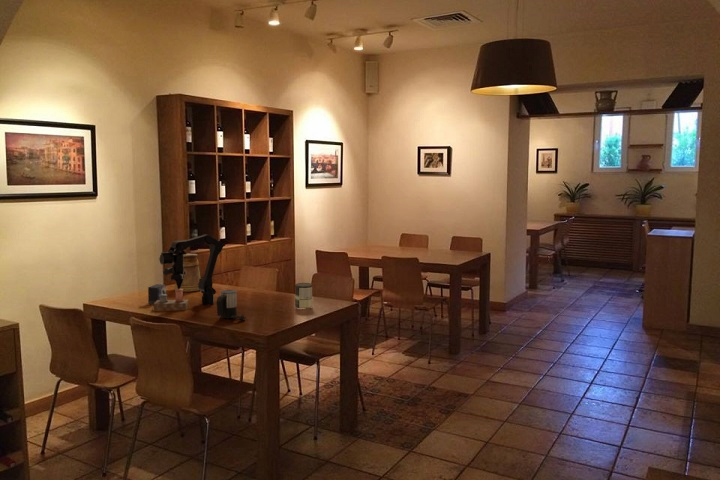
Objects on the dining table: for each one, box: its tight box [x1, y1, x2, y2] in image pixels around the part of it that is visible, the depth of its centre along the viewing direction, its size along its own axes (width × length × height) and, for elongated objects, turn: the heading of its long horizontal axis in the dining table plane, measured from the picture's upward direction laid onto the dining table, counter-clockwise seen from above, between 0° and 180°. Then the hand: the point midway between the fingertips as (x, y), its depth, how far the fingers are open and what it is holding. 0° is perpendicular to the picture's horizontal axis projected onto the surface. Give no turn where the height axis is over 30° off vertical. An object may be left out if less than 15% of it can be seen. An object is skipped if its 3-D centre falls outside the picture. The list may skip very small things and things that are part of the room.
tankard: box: [174, 253, 201, 293], centre depth 398 cm, size 18×24×25 cm
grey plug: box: [159, 293, 168, 303], centre depth 342 cm, size 5×5×8 cm
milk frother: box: [216, 289, 246, 321], centre depth 321 cm, size 14×16×15 cm
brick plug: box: [174, 288, 184, 303], centre depth 343 cm, size 5×5×8 cm
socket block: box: [153, 299, 190, 312], centre depth 343 cm, size 18×10×4 cm, turn 99°
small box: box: [147, 283, 167, 305], centre depth 358 cm, size 11×6×10 cm, turn 168°
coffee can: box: [294, 282, 313, 309], centre depth 349 cm, size 10×10×14 cm
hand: (179, 289), depth 343 cm, fingers closed
